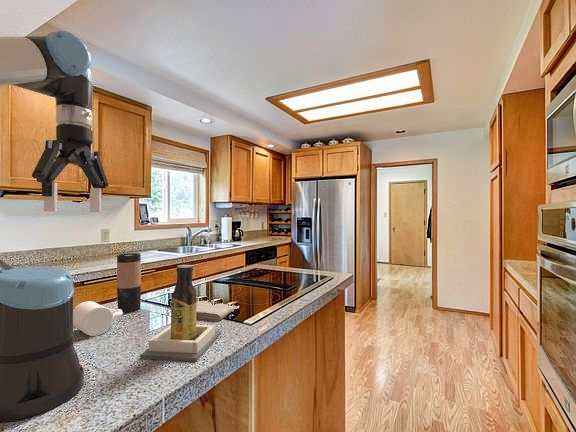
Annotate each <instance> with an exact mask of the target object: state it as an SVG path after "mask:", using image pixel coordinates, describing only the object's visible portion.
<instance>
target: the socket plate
mask: <svg viewBox="0 0 576 432" xmlns="http://www.w3.org/2000/svg"><path fill="white" fill-rule="evenodd" d="M221 333H222V332H221V330H220V331H217V330H216V325H214V324H213V325H211V324H196V335H195V337H196V338H195V340H173V339H171V324H170V325H168V326H167V327H165V328H164V329H163V330H162V331H160V332H159V333H158V334H156V335H155V336H153V337H152V338H150V339H149V340H148V348H147V349H146V350H145V351H144V352H142V353H141V354H140V355H139V358H140V359H142V360H143V359H144V360H163V361H165V360H166V361H182V362H197V361H199V359H200V358H202V356H203V355H205V353H206V352H207V351H208V350H209V349H210V347H211V346H212V345H213V344H214V343H215V342H216V340H217V339H218V338H219V337H221V335H222V334H221Z"/></svg>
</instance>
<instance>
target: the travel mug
mask: <svg viewBox="0 0 576 432" xmlns="http://www.w3.org/2000/svg"><path fill="white" fill-rule="evenodd" d="M141 255H142V254H141V253H139V252H138V253H136V252H135V253H134V252H133V253H132V252H131V253H130V252H129V253H121V254H117V255H116V297H117V299H116V300H117V309H120V310H122V312H123V314H130V313H135V312H138V311H140V310H141V302H142V301H141V297H142V296H141V295H142V268H141V266H142V265H141V263H142V262H141V260H142V259H141V257H142V256H141Z"/></svg>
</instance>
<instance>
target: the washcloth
mask: <svg viewBox="0 0 576 432" xmlns="http://www.w3.org/2000/svg"><path fill="white" fill-rule="evenodd" d="M196 301H197V307H196V319H198V318H199V319H201V320H208V321H215V322H218V321H221V320H223V319H225V318H226V317H227V315H228V314H229V313H231V312H232V311H233V310H234V308H235V307H236V308H237V306H236V305H234V304H231V305H232V306H228V305H229V304H225V303H220V304H215V305H214V304H213V305H212V304H211V302H209V301H202V300H201V301H200V300H199V301H198V300H196ZM231 314H232V313H231ZM225 316H226V317H225ZM228 316H229V315H228Z"/></svg>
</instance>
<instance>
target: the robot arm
mask: <svg viewBox="0 0 576 432" xmlns="http://www.w3.org/2000/svg"><path fill="white" fill-rule="evenodd" d="M91 64H92V56H91V53H90V50H89V48H88V46H87V45H86V44H85V43H84V41H83V40H82V39H81V38H80V37H79V36H77V35H76V34H74V33H72V32H70V31H66V30H59V31H51V32H50V33H48V34H47V35H39V36H38V35H36V36H34V35H32V36H29V35H28V36H0V87H4V86H13V87H17V88H19V89H20V88H21V89H24V90H28V91H31V92H34V93H36V94H37V93H38V94H41V95H43V96H47V97H51V98H54V99H55V123H56V124H57V125H56V127H55V139H47V140H45V144H44V150H43V152H42V154H41V156H40V158H39V160H38V161H37V164H36V165H35V168H34V169H33V171H32V173H31V177H32V178H33V179H36V182H38V183H41V196H42V197H43V212H58V182H55V181H56V179H57V177H59V175H60V174H61V173H62V172H63V170H65V168H66V167H67V166H68V165H69V164H71V165H74V166H78V168H80V169H81V171H82V172H83V173H84V175H85V177H86V178H87V180H88V182H89V183H90V185H91V188H89V190H90V191H89V197H90V200H89V201H90V202H89V203H90V204H89V205H90V207H89V208H90V213H102V200H103V189H107V188H108V187H109V182H108V178H107V175H106V173H105V170H104V167H103V164H102V160H101V155H100V152H99V151H98V150H96V151H91V149H90V147H91V146H92V145H93V143H94V138H93V137H94V131H93V130H92V129H93V109H94V108H93V99H94V97H93V95H94V94H93V93H94V91H93V90H94V84H93V81H94V80H93V74H92V70H91V69H90V67H91ZM74 294H75V286H74V281H73V276H72V273H70V272H69V271H68V270H67V269H65V268H61V267H57V266H56V267H55V266H41V265H40V266H37V265H36V266H35V265H34V266H21V267H12V266H11V265H9V264H8V263H6V262H5V261H3V260H2V259H0V421H6V422H13V421H16V420H22V419H25V418H29V417H33V416H36V415H39V414H41V413H44V412H46V411H50V410H51V409H53V408H56V407H58V406H60V405H62V404H63V403H65V402H67V401H68V400H70V399H72V398H73V397H75V396H76V395H77V394H78V393H79V392H80V391H81V389H83V387H84V384H85V370H84V367H83V366H82V365H81V363H80V360H79V357H78V356H79V355H78V354H77V351H76V349H75V346H74V326H73V309H74Z"/></svg>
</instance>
